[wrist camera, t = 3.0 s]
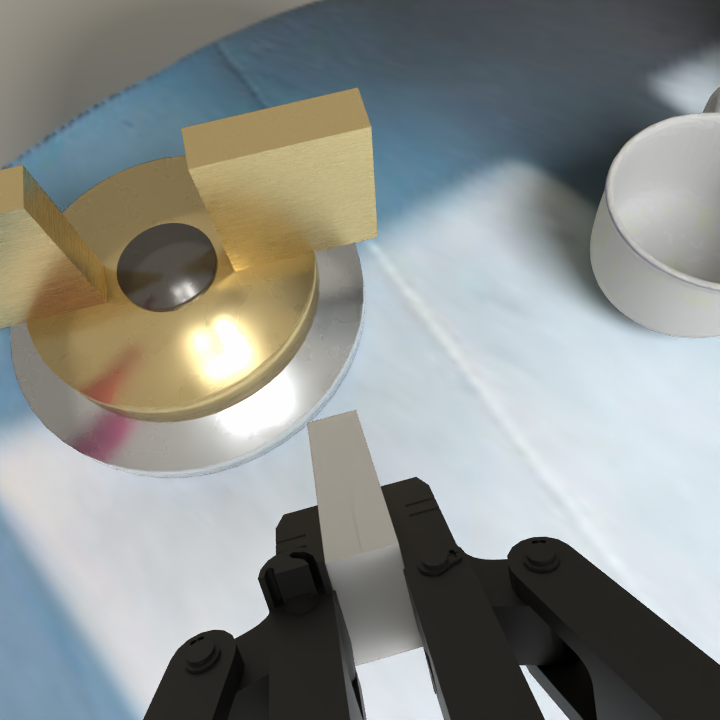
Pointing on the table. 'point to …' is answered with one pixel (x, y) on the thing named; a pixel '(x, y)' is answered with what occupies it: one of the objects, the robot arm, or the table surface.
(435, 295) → the table surface
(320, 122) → the gold twin-plate stand
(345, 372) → the silver round plate
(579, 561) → the robot arm
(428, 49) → the table surface
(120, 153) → the table surface
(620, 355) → the table surface
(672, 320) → the teacup
